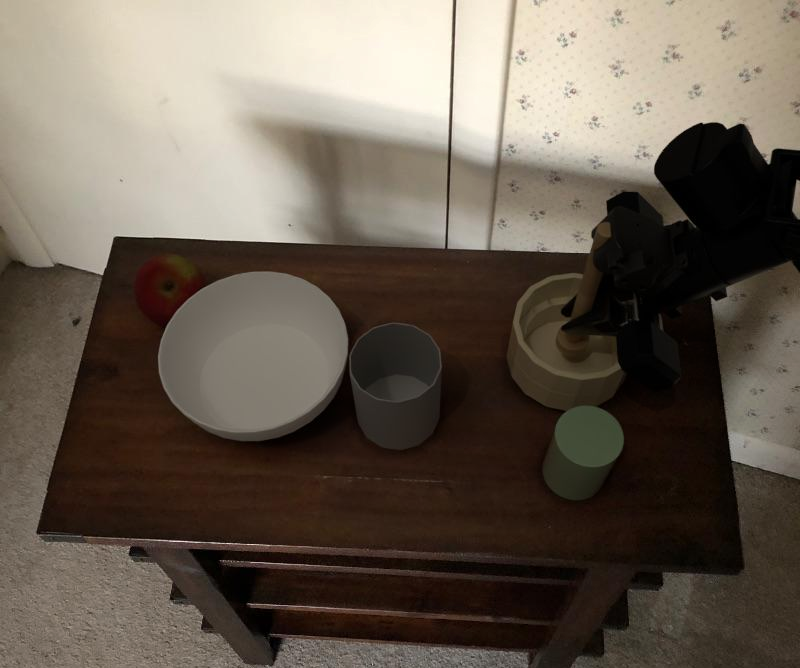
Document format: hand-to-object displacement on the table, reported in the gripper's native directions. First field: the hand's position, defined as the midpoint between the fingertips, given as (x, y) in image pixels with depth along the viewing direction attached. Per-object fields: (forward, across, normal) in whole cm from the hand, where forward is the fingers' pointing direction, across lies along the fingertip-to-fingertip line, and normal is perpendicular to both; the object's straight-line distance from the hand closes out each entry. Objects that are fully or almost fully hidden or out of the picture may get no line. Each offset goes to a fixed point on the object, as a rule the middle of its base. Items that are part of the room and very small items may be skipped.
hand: (563, 322), depth 74 cm
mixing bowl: (+4, 0, +6) cm, 7 cm away
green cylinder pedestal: (+4, +12, +6) cm, 14 cm away
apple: (+34, -4, -23) cm, 41 cm away
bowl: (+26, +4, -16) cm, 31 cm away
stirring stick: (+2, 0, +4) cm, 4 cm away
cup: (+16, +7, -6) cm, 19 cm away
